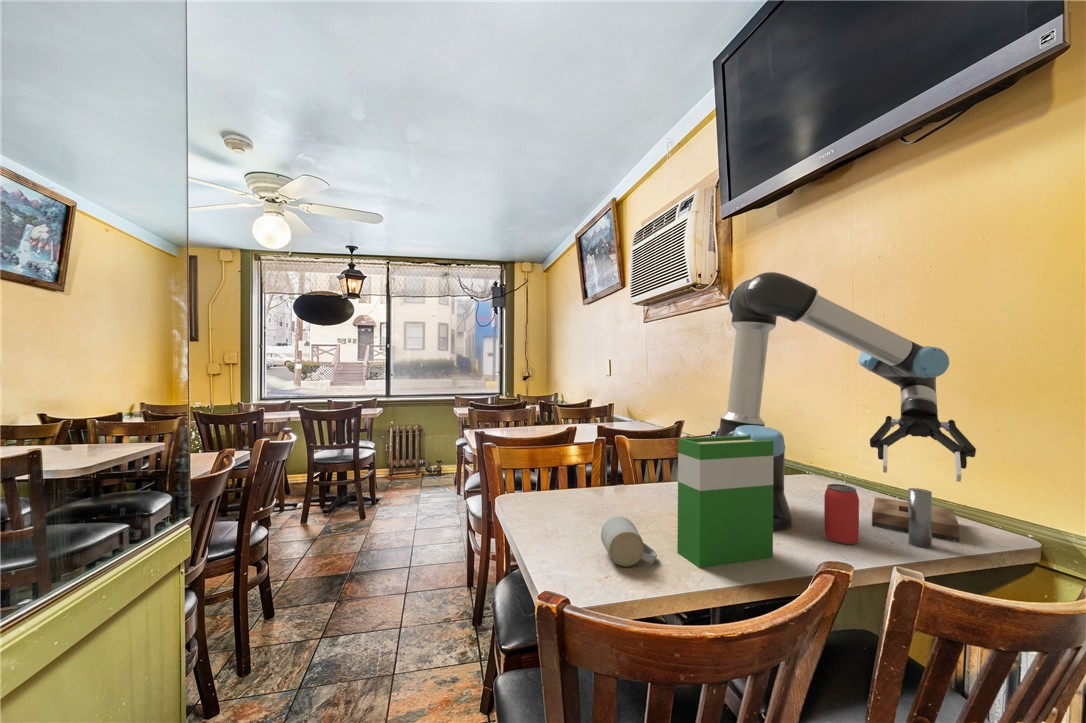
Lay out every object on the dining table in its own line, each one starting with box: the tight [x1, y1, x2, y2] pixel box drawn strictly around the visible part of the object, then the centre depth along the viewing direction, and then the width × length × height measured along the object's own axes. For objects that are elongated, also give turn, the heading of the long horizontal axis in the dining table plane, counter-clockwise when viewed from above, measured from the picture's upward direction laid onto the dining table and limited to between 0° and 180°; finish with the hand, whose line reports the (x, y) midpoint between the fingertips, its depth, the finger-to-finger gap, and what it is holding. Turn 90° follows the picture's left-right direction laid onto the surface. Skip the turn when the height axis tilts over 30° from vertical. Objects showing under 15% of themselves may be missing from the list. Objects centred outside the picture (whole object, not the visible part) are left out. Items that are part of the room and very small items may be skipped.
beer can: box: [823, 483, 860, 545], centre depth 103 cm, size 7×7×12 cm
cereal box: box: [676, 436, 774, 569], centre depth 94 cm, size 18×7×24 cm, turn 107°
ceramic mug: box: [600, 515, 658, 568], centre depth 91 cm, size 11×8×8 cm
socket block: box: [871, 496, 960, 542], centre depth 114 cm, size 16×16×4 cm
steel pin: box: [907, 487, 933, 549], centre depth 101 cm, size 4×4×12 cm
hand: (920, 473), depth 109 cm, fingers open, 13 cm apart
